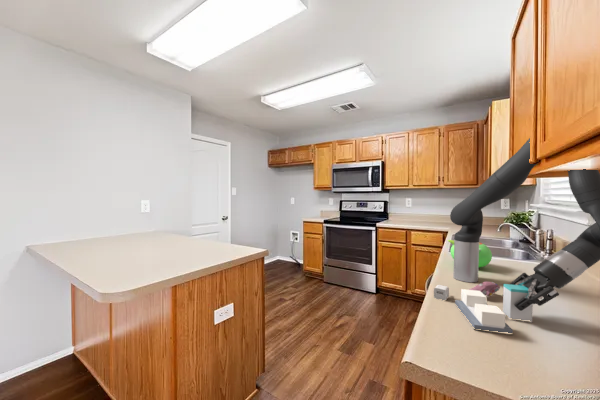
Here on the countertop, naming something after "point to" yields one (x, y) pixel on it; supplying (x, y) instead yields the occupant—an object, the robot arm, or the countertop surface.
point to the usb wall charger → (441, 292)
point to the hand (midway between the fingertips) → (510, 302)
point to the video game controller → (487, 288)
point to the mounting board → (482, 312)
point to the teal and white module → (511, 297)
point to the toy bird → (484, 254)
